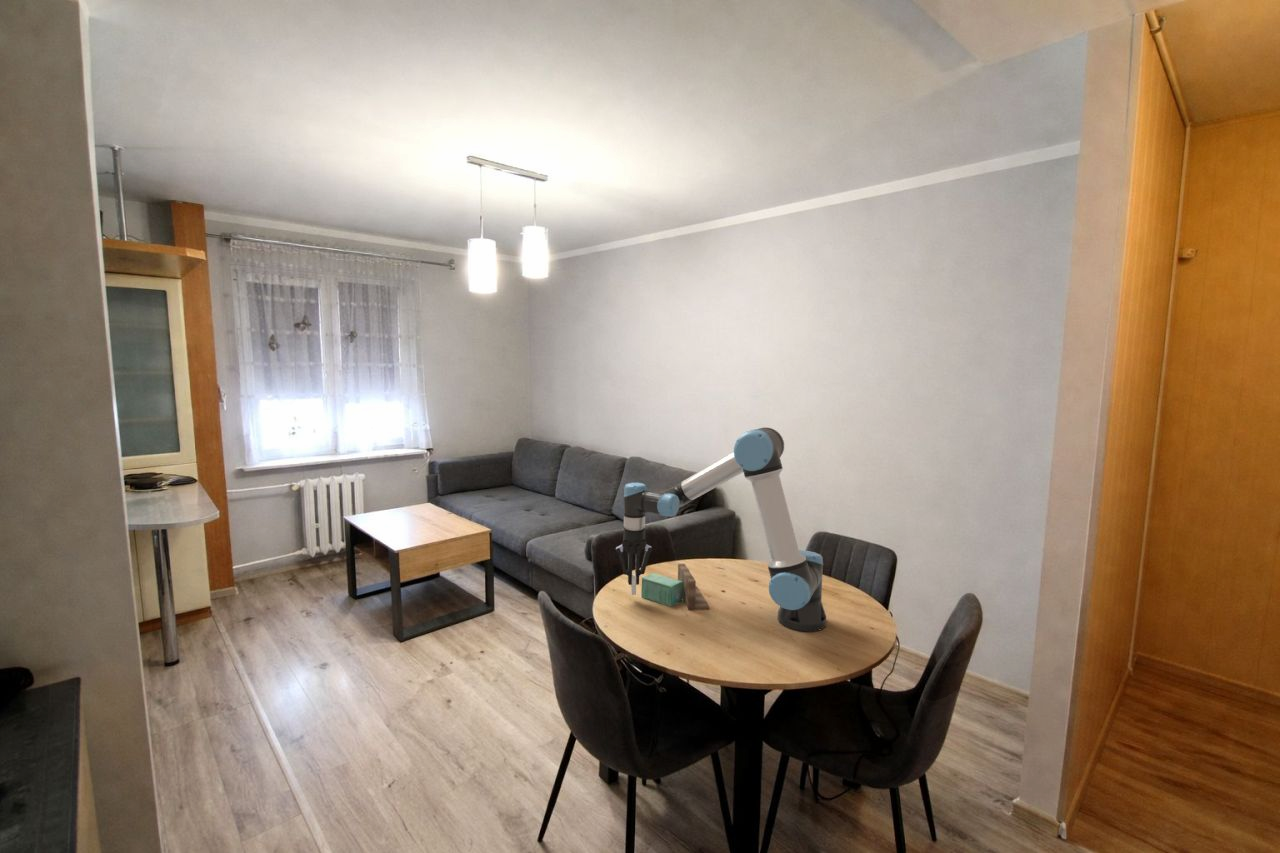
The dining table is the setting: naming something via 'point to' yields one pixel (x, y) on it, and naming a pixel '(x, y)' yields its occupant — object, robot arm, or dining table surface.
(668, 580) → the box
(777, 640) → the dining table surface
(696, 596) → the walnut angle bracket
